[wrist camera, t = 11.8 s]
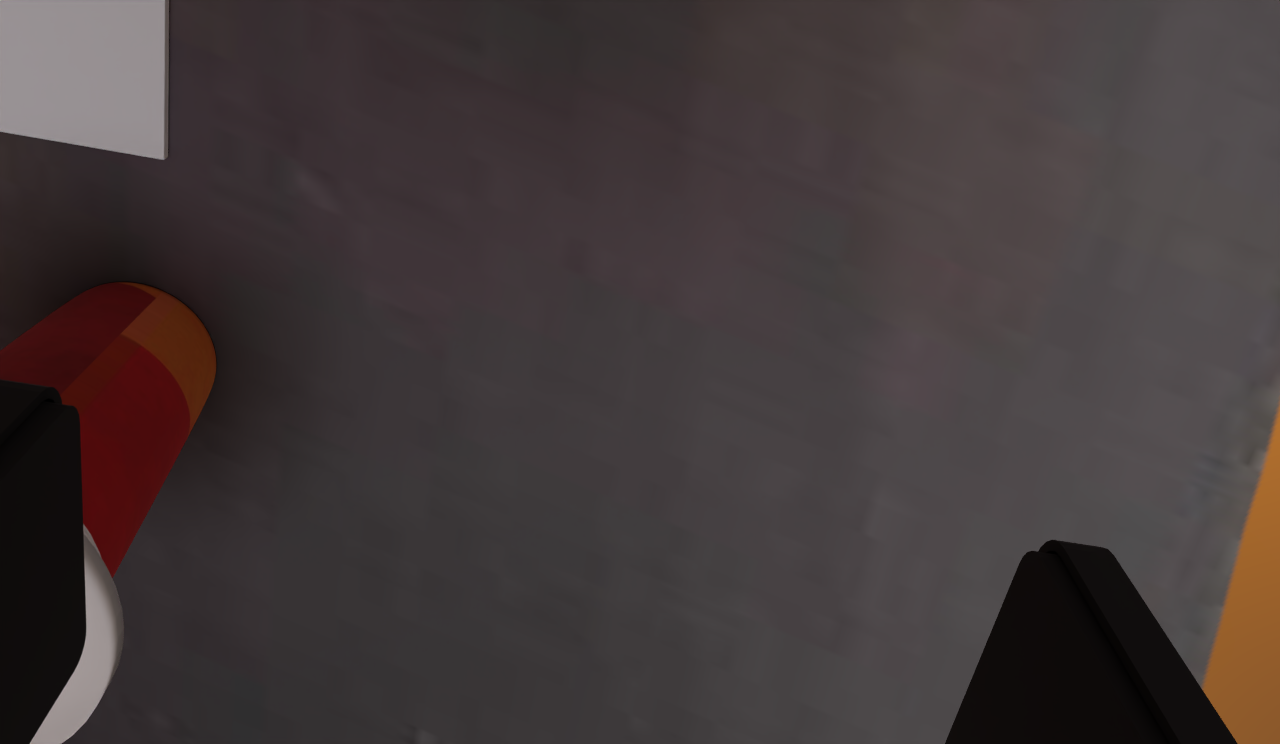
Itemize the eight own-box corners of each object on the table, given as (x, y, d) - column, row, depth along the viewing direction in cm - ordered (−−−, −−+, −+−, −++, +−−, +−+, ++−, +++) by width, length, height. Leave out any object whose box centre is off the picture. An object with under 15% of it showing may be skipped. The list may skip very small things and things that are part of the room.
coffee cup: (-2, 390, 44) (-271, 650, 31) (63, 212, 41) (-206, 414, 28) (207, 480, 46) (40, 761, 33) (284, 316, 43) (134, 553, 29)
